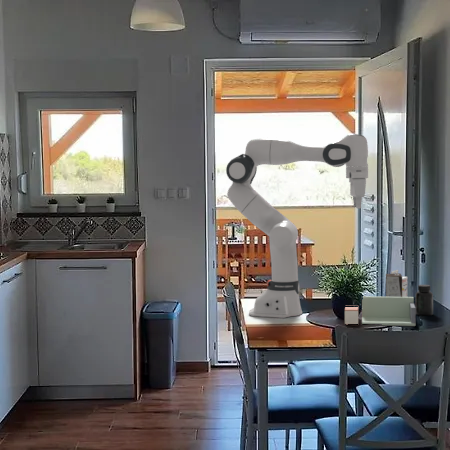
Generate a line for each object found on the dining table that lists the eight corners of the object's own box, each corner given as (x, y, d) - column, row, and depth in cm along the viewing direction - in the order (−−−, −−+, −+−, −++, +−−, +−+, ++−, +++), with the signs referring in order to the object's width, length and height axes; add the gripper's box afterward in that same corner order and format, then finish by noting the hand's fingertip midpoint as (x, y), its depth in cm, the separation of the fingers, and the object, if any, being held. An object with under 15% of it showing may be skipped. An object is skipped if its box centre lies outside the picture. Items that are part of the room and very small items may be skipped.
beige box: (344, 325, 265) (344, 309, 264) (345, 320, 273) (345, 305, 272) (358, 325, 263) (358, 310, 263) (358, 320, 271) (358, 305, 271)
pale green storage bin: (362, 324, 263) (361, 301, 263) (362, 318, 275) (362, 296, 274) (415, 325, 259) (415, 302, 259) (413, 319, 271) (413, 296, 270)
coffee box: (402, 315, 279) (402, 276, 278) (386, 315, 280) (386, 276, 279) (401, 310, 288) (401, 273, 287) (385, 310, 289) (385, 273, 288)
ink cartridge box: (400, 305, 299) (400, 272, 298) (390, 304, 302) (389, 271, 301) (408, 302, 306) (407, 269, 305) (397, 301, 309) (397, 269, 308)
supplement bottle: (426, 312, 284) (426, 283, 283) (436, 315, 278) (436, 286, 277) (412, 313, 282) (412, 284, 281) (422, 316, 275) (422, 287, 274)
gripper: (346, 173, 287) (346, 206, 288) (351, 174, 267) (352, 209, 268) (361, 173, 286) (362, 206, 287) (368, 173, 266) (368, 209, 267)
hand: (357, 207), depth 277 cm, fingers open, 8 cm apart
